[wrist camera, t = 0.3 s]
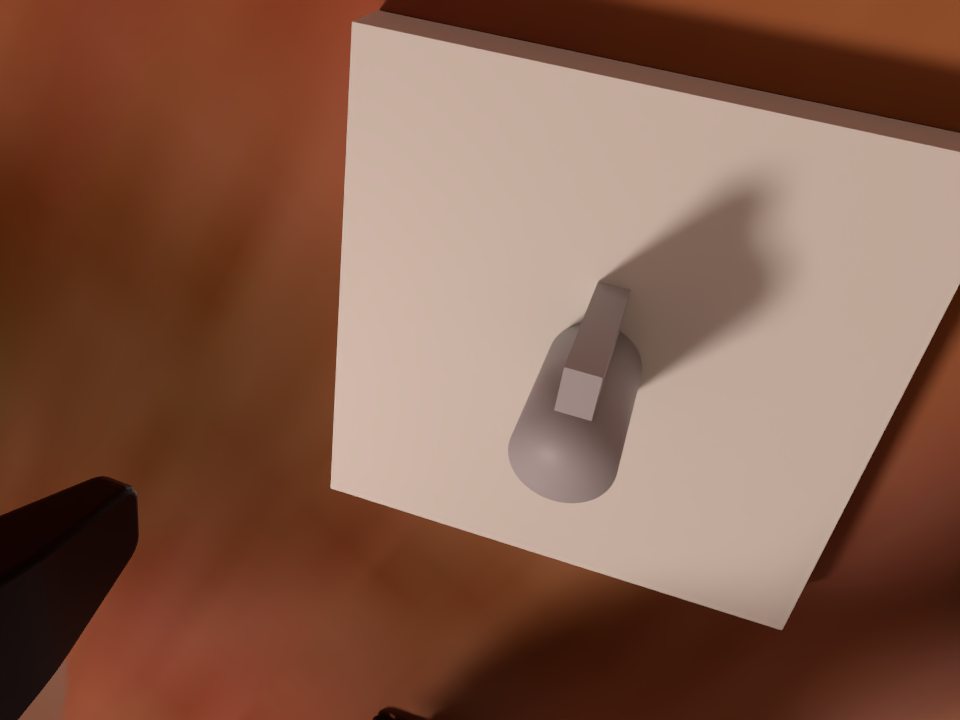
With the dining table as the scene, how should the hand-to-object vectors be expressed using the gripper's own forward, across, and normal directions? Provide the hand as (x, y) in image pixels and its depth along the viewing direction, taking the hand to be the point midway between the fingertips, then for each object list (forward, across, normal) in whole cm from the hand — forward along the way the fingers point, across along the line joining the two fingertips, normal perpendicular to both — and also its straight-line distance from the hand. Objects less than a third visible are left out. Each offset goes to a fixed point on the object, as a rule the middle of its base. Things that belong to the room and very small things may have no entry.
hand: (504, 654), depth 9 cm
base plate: (+14, 0, +4) cm, 14 cm away
